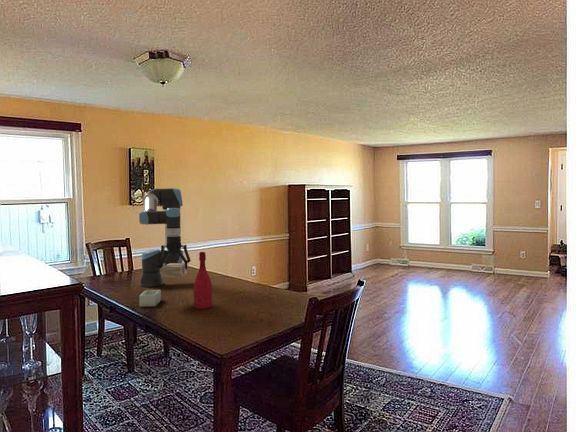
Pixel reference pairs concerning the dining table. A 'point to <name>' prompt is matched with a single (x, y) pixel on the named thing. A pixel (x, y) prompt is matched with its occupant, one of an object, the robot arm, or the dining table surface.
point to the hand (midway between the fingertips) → (174, 275)
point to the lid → (172, 271)
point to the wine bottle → (202, 286)
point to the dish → (150, 297)
